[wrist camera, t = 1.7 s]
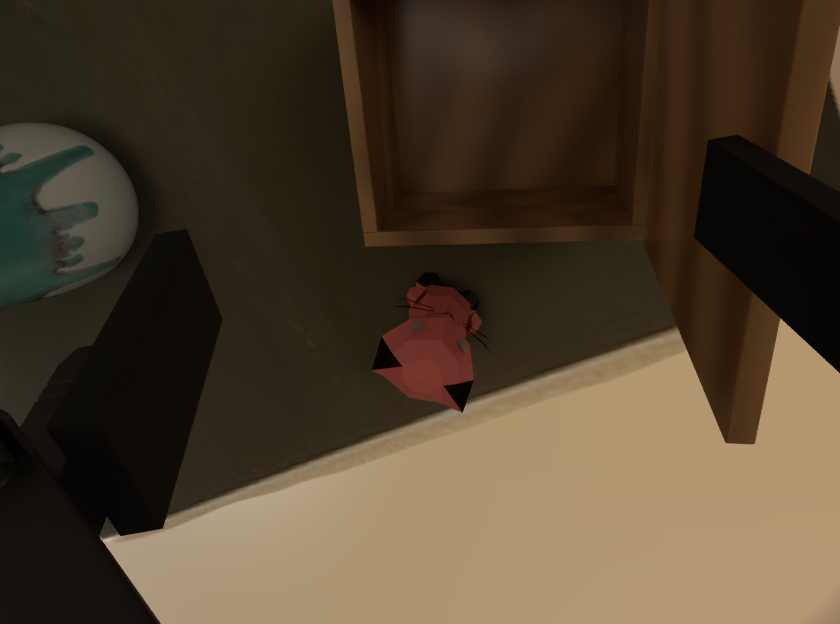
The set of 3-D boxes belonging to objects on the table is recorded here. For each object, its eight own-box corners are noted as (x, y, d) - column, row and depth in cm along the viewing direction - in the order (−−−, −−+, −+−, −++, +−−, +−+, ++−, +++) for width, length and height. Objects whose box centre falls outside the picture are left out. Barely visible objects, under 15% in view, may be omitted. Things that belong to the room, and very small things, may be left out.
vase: (44, 78, 43) (-238, 120, 27) (184, 177, 44) (-4, 271, 29) (2, 202, 48) (-255, 298, 32) (129, 287, 50) (-57, 416, 34)
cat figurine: (504, 287, 44) (498, 374, 34) (464, 356, 48) (446, 455, 37) (419, 245, 44) (385, 320, 33) (384, 318, 47) (342, 407, 37)
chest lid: (725, 443, 17) (755, 445, 17) (828, -149, 11) (877, -155, 11) (642, 243, 32) (658, 242, 32) (667, -60, 26) (687, -62, 26)
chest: (394, 203, 43) (364, 247, 35) (371, -15, 37) (329, -22, 29) (624, 194, 40) (648, 240, 32) (640, -44, 34) (675, -60, 26)
